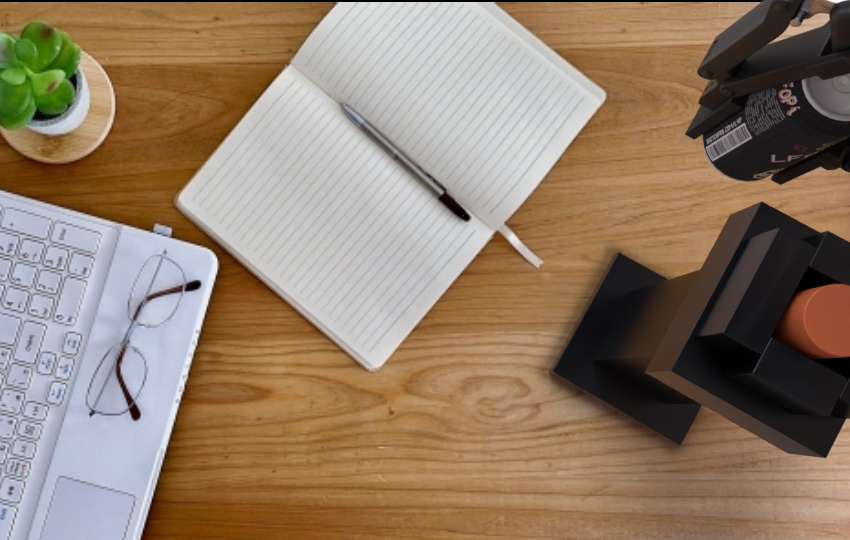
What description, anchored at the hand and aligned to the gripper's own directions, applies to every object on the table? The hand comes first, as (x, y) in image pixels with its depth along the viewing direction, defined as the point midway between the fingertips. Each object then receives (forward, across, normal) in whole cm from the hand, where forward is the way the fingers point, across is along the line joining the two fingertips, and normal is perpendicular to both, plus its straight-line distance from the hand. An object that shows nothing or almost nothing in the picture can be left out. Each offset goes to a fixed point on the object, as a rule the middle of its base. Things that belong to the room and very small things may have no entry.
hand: (741, 143), depth 59 cm
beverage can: (+1, 0, 0) cm, 1 cm away
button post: (+17, -6, +12) cm, 22 cm away
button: (-7, -6, +12) cm, 15 cm away
